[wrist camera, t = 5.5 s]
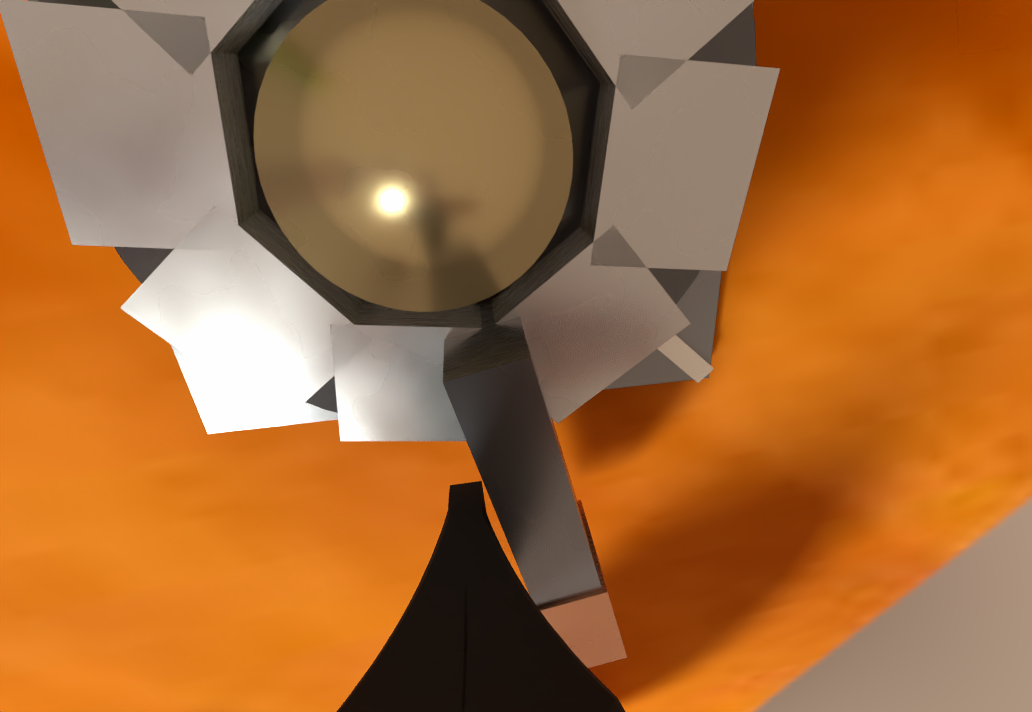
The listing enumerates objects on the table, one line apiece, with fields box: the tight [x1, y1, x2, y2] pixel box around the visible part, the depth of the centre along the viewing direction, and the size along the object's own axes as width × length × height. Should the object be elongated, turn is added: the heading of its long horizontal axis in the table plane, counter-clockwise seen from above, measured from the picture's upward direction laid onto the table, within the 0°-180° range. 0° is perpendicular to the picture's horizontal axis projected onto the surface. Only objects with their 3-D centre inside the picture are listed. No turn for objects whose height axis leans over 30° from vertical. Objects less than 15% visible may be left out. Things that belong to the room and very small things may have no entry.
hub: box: [28, 0, 756, 434], centre depth 10 cm, size 14×14×5 cm
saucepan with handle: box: [0, 0, 780, 668], centre depth 10 cm, size 12×18×3 cm
